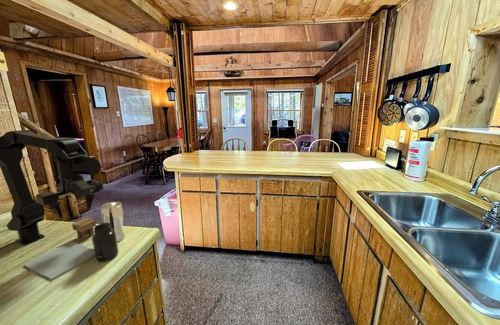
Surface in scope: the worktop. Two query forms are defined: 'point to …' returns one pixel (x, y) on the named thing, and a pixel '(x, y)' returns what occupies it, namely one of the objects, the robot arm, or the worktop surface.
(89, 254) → the rubber mat
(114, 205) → the beer glass
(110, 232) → the supplement bottle
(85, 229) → the walnut stool
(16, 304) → the worktop surface
